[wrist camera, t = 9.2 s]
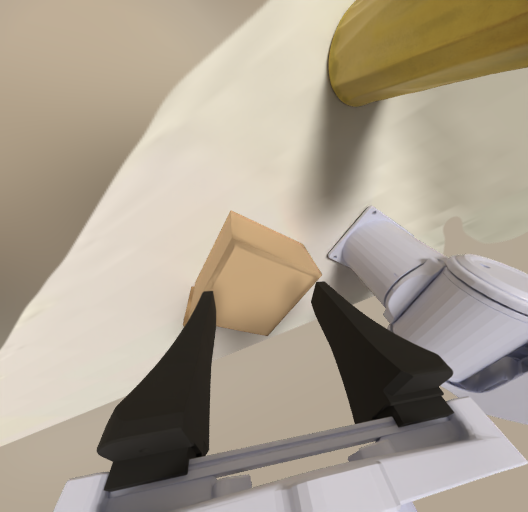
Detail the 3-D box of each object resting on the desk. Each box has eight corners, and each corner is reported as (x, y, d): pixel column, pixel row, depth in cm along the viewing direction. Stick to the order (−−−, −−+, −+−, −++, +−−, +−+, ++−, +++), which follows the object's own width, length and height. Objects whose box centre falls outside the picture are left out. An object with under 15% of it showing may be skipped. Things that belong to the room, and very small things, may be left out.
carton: (303, 244, 24) (322, 274, 19) (260, 300, 29) (267, 336, 24) (230, 210, 20) (231, 237, 15) (195, 282, 25) (187, 320, 20)
